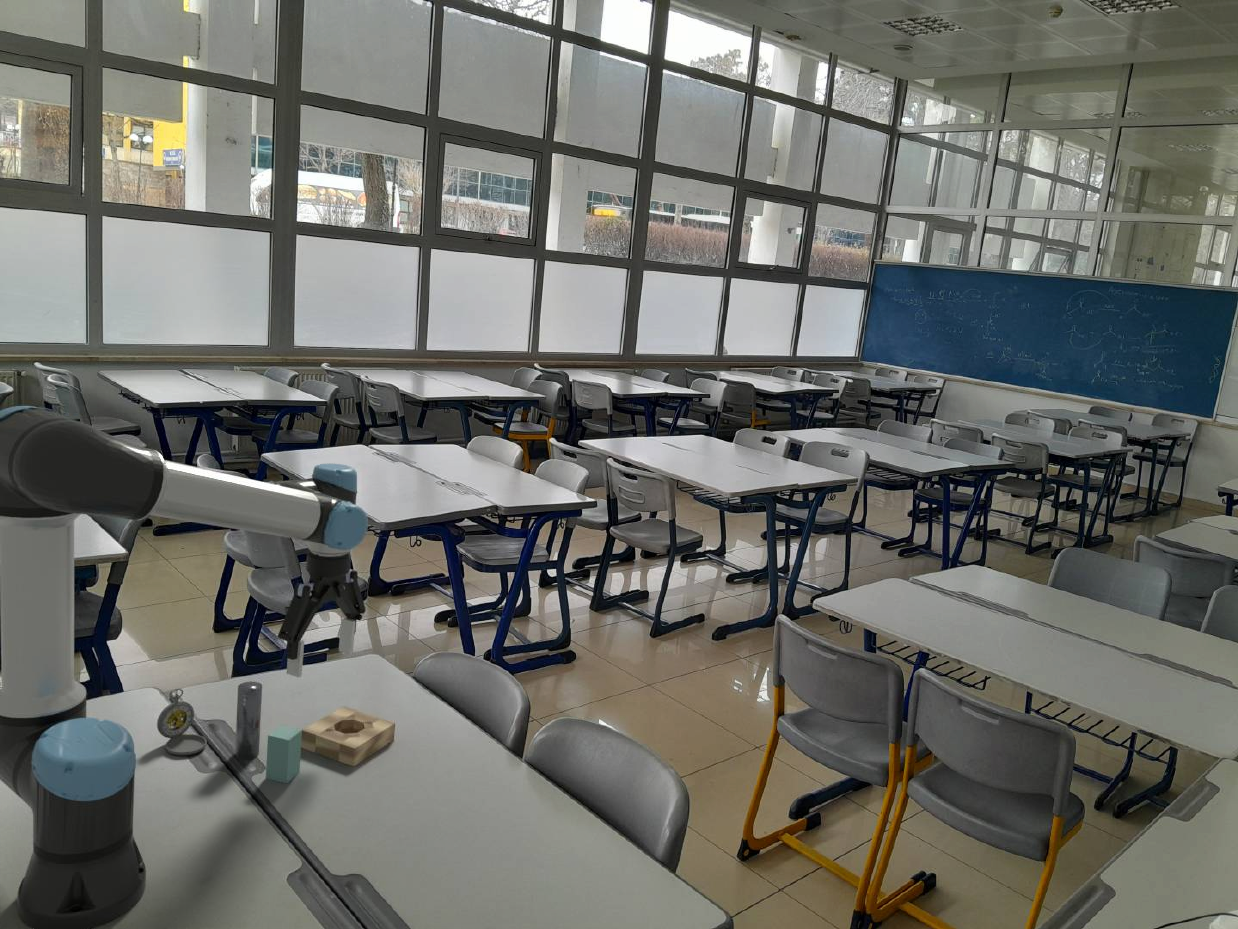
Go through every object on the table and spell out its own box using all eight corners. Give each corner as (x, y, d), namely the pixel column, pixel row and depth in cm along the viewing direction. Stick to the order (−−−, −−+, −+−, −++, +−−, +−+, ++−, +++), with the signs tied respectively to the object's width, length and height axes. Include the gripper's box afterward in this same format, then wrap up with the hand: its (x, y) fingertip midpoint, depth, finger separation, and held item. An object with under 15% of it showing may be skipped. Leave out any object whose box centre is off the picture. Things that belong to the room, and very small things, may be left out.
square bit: (286, 783, 158) (289, 740, 157) (265, 778, 159) (268, 735, 158) (299, 772, 162) (301, 730, 161) (279, 767, 163) (281, 725, 162)
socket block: (353, 766, 166) (354, 748, 165) (300, 747, 170) (301, 730, 170) (393, 740, 177) (395, 723, 176) (343, 722, 181) (344, 706, 181)
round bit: (247, 761, 163) (250, 693, 161) (229, 755, 165) (232, 687, 163) (263, 752, 167) (267, 685, 165) (246, 746, 169) (249, 679, 166)
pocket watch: (195, 759, 162) (197, 706, 160) (148, 754, 162) (149, 701, 160) (216, 737, 170) (218, 687, 169) (171, 732, 170) (172, 681, 169)
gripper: (296, 570, 152) (287, 691, 155) (390, 542, 174) (380, 649, 178) (261, 560, 154) (253, 679, 158) (358, 534, 177) (349, 639, 181)
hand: (320, 663), depth 168 cm, fingers open, 13 cm apart
